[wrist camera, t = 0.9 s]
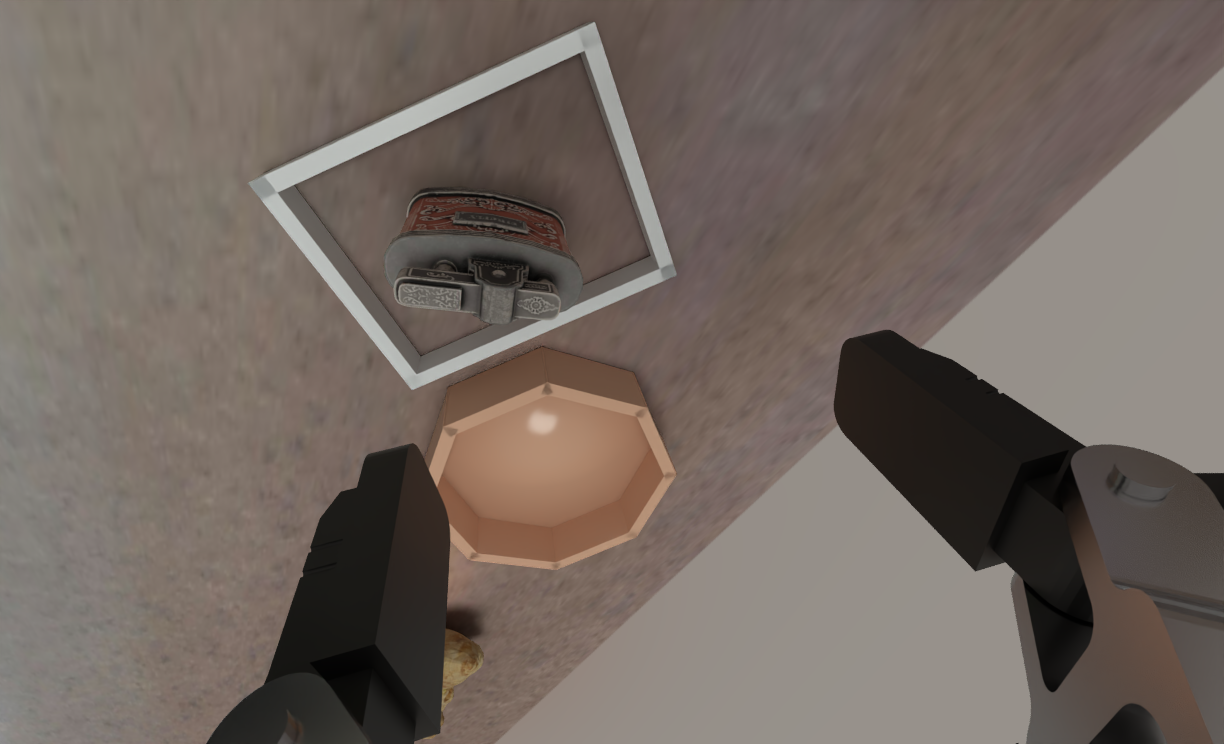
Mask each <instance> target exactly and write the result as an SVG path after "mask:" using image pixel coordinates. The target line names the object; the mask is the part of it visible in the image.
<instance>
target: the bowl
mask: <svg viewBox="0 0 1224 744" xmlns="http://www.w3.org/2000/svg"><path fill="white" fill-rule="evenodd" d="M424 460H425V463H426V465H427V467H428V469H429V471H430V474H431V476H432V478H433V480H434V482H435V484H436V487H437V489H438V491H439V493H440V495H441V498H442V500H443V502H444V504H445V507H446V511H447V514H448V519H449V525H450V540H451V542H452V543H453V544H454V545H455V546H456V547H457V548H458V549H459V550H460V551H461V552H462V553H463V554H464V555H465V556H466V557H467V558H468V560H473V561H482V562H491V563H500V564H509V565H518V566H526V567H535V568H544V569H553V570H557V569H559V568H562V567H564V566H567V565H569V564H572V563H574V562H577V561H579V560H581V559H584V558H586V557H589V556H591V555H594V554H596V553H599V552H601V551H604V550H606V549H608V548H611V547H613V546H616V545H618V544H621V543H623V542H626V541H628V540H631V539H633V538H636V537H637V535H638V534H639V532H640V531H641V529H642V527H643V526H644V524H645V523H646V521H647V520H648V518H649V517H650V515H651V514H652V512H653V510H654V509H655V507H656V506H657V504H658V503H659V501H660V500H661V498H662V496H663V495H664V493H665V492H666V490H667V489H668V487H669V486H670V484H671V482H672V481H673V479H674V478H675V476H676V475H677V473H676V470H675V468H674V465H673V463H672V460H671V458H670V456H669V453H668V451H667V448H666V446H665V443H664V441H663V439H662V436H661V435H660V433H659V431H658V429H657V426H656V424H655V422H654V419H653V417H652V415H651V413H650V410H649V408H648V406H647V404H646V401H645V399H644V397H643V394H642V392H641V389H640V387H639V384H638V382H637V379H636V377H635V374H634V372H630V371H627V370H623V369H619V368H616V367H612V366H609V365H605V364H602V363H598V362H595V361H591V360H587V359H584V358H580V357H577V356H573V355H570V354H566V353H562V352H559V351H555V350H552V349H548V348H545V347H543V346H542V347H540V348H538V349H535V350H533V351H531V352H528V353H526V354H524V355H522V356H519V357H517V358H515V359H512V360H510V361H508V362H505V363H503V364H501V365H498V366H496V367H494V368H491V369H489V370H487V371H485V372H482V373H480V374H478V375H475V376H473V377H471V378H468V379H466V380H464V381H461V382H459V383H457V384H454V385H452V386H449V387H448V388H447V393H446V396H445V399H444V402H443V405H442V408H441V411H440V414H439V417H438V420H437V423H436V426H435V429H434V432H433V435H432V438H431V441H430V444H429V447H428V450H427V453H426V456H425V459H424Z"/></svg>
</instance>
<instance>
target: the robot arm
mask: <svg viewBox="0 0 1224 744" xmlns="http://www.w3.org/2000/svg"><path fill="white" fill-rule="evenodd" d="M834 413H835V417H836V420H837V423H838V425H839V427H840V429H841V430H842V432H843V433H844V434H845V436H846V437H847V438H848V439H849V440H850V441H851V442H852V443H853V444H854V445H855V446H856V447H857V448H858V449H859V450H860V451H861V452H862V454H864V455H865V457H866V458H867V459H868V460H869V461H870V462H871V463H872V464H873V465H874V466H875V467H876V468H877V469H878V470H879V471H880V472H881V473H882V474H883V475H884V476H885V477H886V479H887V480H888V481H889V482H890V483H891V484H892V485H893V486H894V487H895V488H896V489H897V490H898V491H899V492H900V493H901V494H902V495H903V496H904V497H905V498H906V499H907V500H908V501H909V502H910V504H911V505H912V506H913V507H914V508H915V509H916V510H917V511H918V512H919V513H920V514H921V515H922V516H923V517H924V518H925V519H926V520H927V521H928V522H929V523H930V524H931V525H932V526H933V527H934V529H936V531H937V532H938V533H939V534H940V535H941V536H942V537H943V538H944V539H945V540H946V541H947V542H948V543H949V544H950V545H951V546H952V547H953V549H954V550H956V552H957V553H958V554H959V555H960V556H961V557H962V558H963V559H964V560H965V561H966V562H967V563H968V564H969V565H970V566H971V567H972V568H973V569H974V570H975V571H978V570H981V569H985V568H988V567H991V566H995V565H998V564H1001V563H1004V562H1006V563H1007V564H1008V565H1009V566H1010V567H1011V568H1012V569H1013V570H1014V571H1015V573H1014V575H1013V577H1012V581H1011V591H1012V597H1013V602H1014V608H1015V614H1016V619H1017V625H1018V630H1019V636H1020V641H1021V647H1022V653H1023V658H1024V664H1025V669H1026V675H1027V681H1028V686H1029V692H1030V698H1031V718H1030V724H1029V728H1028V733H1027V742H1026V744H1224V473H1192V472H1191V471H1189V470H1187V469H1186V468H1184V467H1183V466H1181V465H1179V464H1177V463H1175V462H1173V461H1171V460H1169V459H1167V458H1164V457H1162V456H1159V455H1157V454H1154V453H1151V452H1148V451H1144V450H1141V449H1136V448H1132V447H1127V446H1120V445H1093V446H1088V447H1086V446H1084V445H1083V444H1081V443H1079V442H1078V441H1076V440H1075V439H1073V438H1072V437H1070V436H1069V435H1067V434H1066V433H1064V432H1063V431H1061V430H1059V429H1058V428H1056V427H1055V426H1053V425H1052V424H1050V423H1049V422H1047V421H1046V420H1044V419H1042V418H1041V417H1039V416H1038V415H1036V414H1035V413H1033V412H1032V411H1030V410H1029V409H1027V408H1026V407H1024V406H1023V405H1021V404H1019V403H1018V402H1016V401H1015V400H1013V399H1012V398H1010V397H1009V396H1007V395H1005V394H1004V393H1001V394H999V393H998V389H996V388H995V387H993V386H992V385H990V384H989V383H987V382H986V381H984V380H983V379H981V380H978V379H977V376H976V375H975V374H973V373H972V372H970V371H969V370H967V369H966V368H964V367H963V366H961V365H960V364H958V363H957V362H955V361H953V360H952V359H949V358H946V357H943V356H941V355H938V354H935V353H932V352H930V351H927V350H924V349H919V348H918V347H916V346H915V345H914V344H912V343H911V342H909V341H908V340H906V339H905V338H903V337H902V336H900V335H899V334H897V333H896V332H894V331H891V330H882V331H878V332H874V333H870V334H866V335H862V336H858V337H854V338H849V339H847V340H846V341H845V342H844V344H843V346H842V349H841V355H840V362H839V369H838V377H837V384H836V391H835V399H834ZM449 555H450V525H449V519H448V514H447V511H446V507H445V504H444V502H443V500H442V498H441V495H440V493H439V491H438V489H437V487H436V484H435V482H434V480H433V478H432V476H431V474H430V471H429V469H428V467H427V465H426V463H425V460H424V458H423V456H422V454H421V452H420V450H419V448H418V447H417V446H416V445H415V444H413V443H412V444H408V445H404V446H399V447H395V448H391V449H387V450H383V451H379V452H375V453H371V454H368V455H367V456H366V458H365V460H364V463H363V467H362V471H361V474H360V478H359V482H358V486H357V488H354V489H350V490H346V491H342V492H340V493H339V495H338V496H337V497H336V499H335V500H334V501H333V502H332V504H331V505H330V506H329V508H328V509H327V510H326V512H325V513H324V514H323V515H322V517H321V518H320V520H319V523H318V526H317V529H316V532H315V535H314V538H313V541H312V544H311V552H310V553H308V556H307V559H306V562H305V565H304V568H303V571H302V572H303V577H301V578H300V580H299V583H298V586H297V589H296V592H295V595H294V598H293V601H292V604H291V607H290V610H289V613H288V616H287V619H286V622H285V625H284V628H283V631H282V634H281V637H280V640H279V643H278V646H277V649H276V652H275V655H274V658H273V661H272V664H271V667H270V670H269V673H268V676H267V678H266V681H265V683H264V685H263V686H261V687H260V688H258V689H256V690H255V691H254V692H252V693H251V694H250V695H248V696H247V697H246V698H244V699H243V700H242V701H241V702H240V703H239V704H238V705H237V706H235V707H234V708H233V709H232V710H231V711H230V713H229V714H228V715H227V716H226V717H225V718H224V719H223V720H222V722H221V723H220V724H219V725H218V727H217V728H216V729H215V731H214V732H213V733H212V735H211V737H210V738H209V740H208V741H207V743H206V744H414V741H417V740H420V739H423V738H426V737H430V736H433V735H436V734H439V733H440V727H441V708H442V689H443V669H444V650H445V631H446V612H447V593H448V574H449ZM1016 744H1018V743H1016Z"/></svg>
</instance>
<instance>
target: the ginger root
mask: <svg viewBox="0 0 1224 744" xmlns="http://www.w3.org/2000/svg"><path fill="white" fill-rule="evenodd" d="M483 657H484V655H483V652H482V650H481V648H480V646H479V645H477V644H475V643H474V642H473V641H471V640H469V639H468V638H466V637H465V636H464V635H462V634H460V633H458V632H456V631H453V630H450V629H446V631H445V650H444V669H443V689H442V708H441V726H442V725H443V723H444V716H443V712H442V711H443V710H444V708H445V706H446V705H447V703H449V702H450V701H451V700H452V698H453V697H454V695H453V693H454V690H453V686H455V685H457V684H460V683H461V682H463V681H464V680H465V679H466V678H467V677H469V676H470V675H471V674H473V673H475V672H476V671H477V670H478V669H479V668H480V667H481V666H482V664H483ZM434 736H435V735H433V736H430V737H426V738H423V739H430V738H433V737H434Z"/></svg>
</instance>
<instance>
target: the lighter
mask: <svg viewBox="0 0 1224 744" xmlns="http://www.w3.org/2000/svg"><path fill="white" fill-rule="evenodd" d="M406 216H407V219H406V222H405V224H404V226H403V228H402V230H401V232H400V234H399V235H398V236H396V237H395V238H394V239H393V240H392V242H391V243H390V245H389V247H388V249H387V251H386V253H385V255H384V262H383V268H384V273H385V277H386V279H387V280H388V282H389V284H390V286H391V287H392V288H393V289H394V296H395V299H396V301H397V302H398V303H399V304H401V305H403V306H408V307H417V308H427V309H437V310H447V311H457V312H467V313H472V314H473V316H475V317H478V318H479V319H480V320H481V321H483V322H486V323H489V324H496V325H506V324H509V323H511V322H512V321H516V320H518V319H519V318H527V319H537V320H553V319H555V318H556V317H557V316H558V315H559V313H560V312H564V311H567V310H568V309H570V308H571V307H573V306H574V305H575V303H576V302H577V301H578V299H579V298H580V295H581V293H582V290H583V277H582V274H581V271H580V268H579V265H578V263H577V262H576V260H575V259H574V258H573V256H571V254H570V251H569V248H568V245H567V242H566V230H565V226H564V223H563V220H562V218H561V216H560V215H559V214H558V212H557V211H555V210H554V209H552V208H551V207H548V206H545V205H542V204H540V203H537V202H534V201H531V200H529V199H526V198H523V197H519V196H515V195H510V194H506V193H502V192H498V191H493V190H485V189H474V188H463V187H448V188H426V189H422V190H420V191H419V192H417V193H416V194H415V195H414V196H413V198H412V200H411V202H410V204H409V206H408V209H407V215H406Z"/></svg>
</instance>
